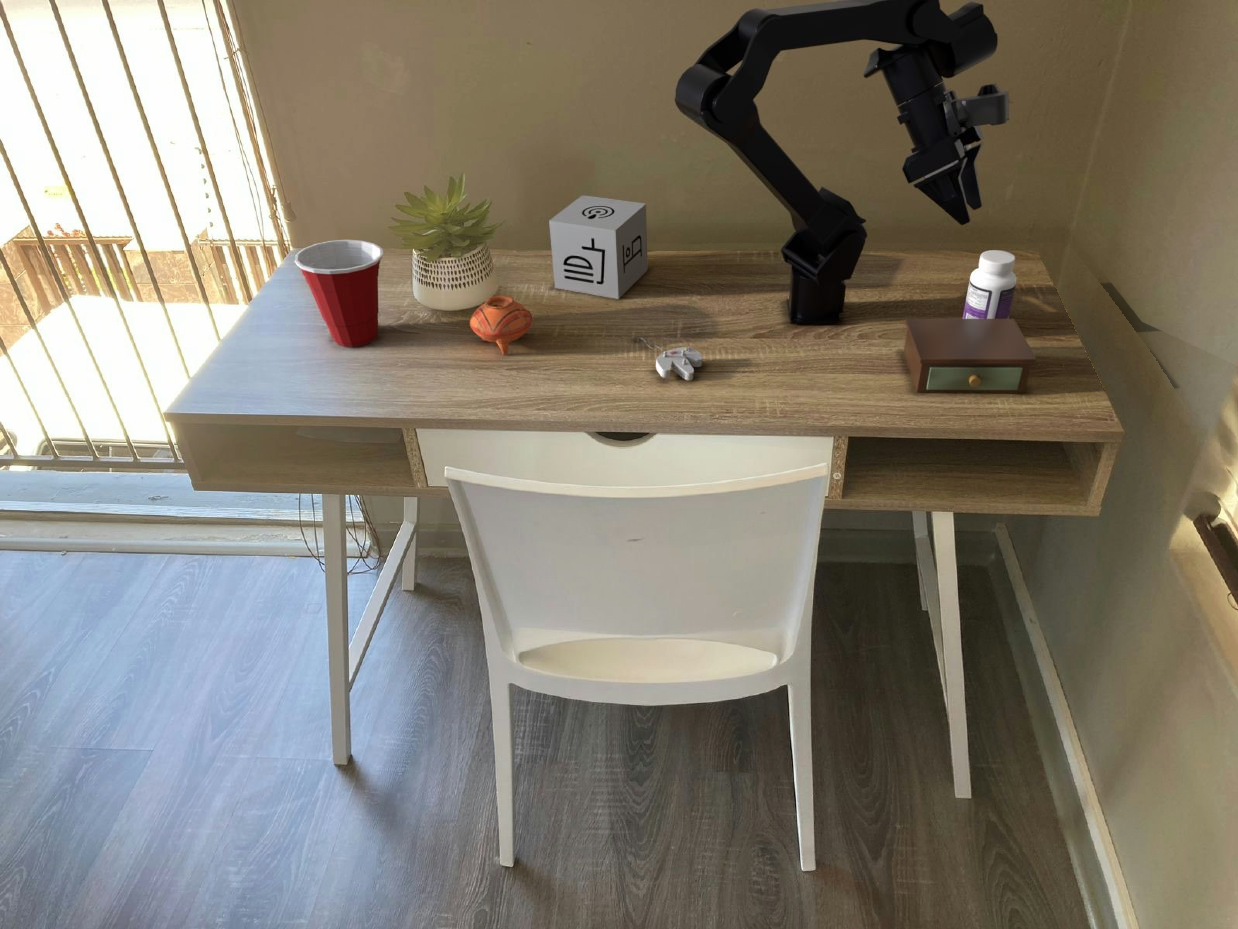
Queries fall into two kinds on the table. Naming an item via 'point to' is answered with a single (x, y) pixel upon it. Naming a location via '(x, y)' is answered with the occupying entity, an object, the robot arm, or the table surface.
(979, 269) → the pill bottle
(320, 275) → the plastic cup
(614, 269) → the icon cube
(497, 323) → the pot
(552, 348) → the table surface
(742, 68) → the robot arm
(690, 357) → the game controller
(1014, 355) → the cabinet
